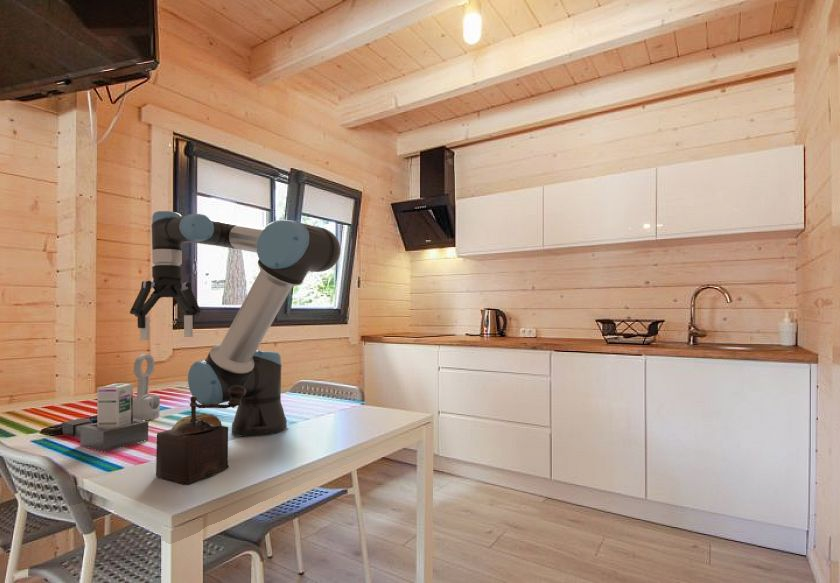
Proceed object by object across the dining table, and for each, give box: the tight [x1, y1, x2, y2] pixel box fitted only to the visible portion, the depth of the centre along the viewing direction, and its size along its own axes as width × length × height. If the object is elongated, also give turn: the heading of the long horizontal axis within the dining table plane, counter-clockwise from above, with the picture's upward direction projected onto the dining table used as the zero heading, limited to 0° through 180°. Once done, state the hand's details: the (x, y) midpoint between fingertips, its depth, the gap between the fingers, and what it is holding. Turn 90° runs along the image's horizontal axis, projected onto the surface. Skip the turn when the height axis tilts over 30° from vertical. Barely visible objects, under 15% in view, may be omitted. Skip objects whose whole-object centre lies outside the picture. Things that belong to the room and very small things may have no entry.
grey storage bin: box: [61, 418, 149, 453], centre depth 122 cm, size 28×11×5 cm, turn 61°
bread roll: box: [171, 413, 223, 429], centre depth 116 cm, size 10×15×8 cm, turn 156°
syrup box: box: [96, 382, 134, 429], centre depth 118 cm, size 6×6×14 cm
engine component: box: [132, 353, 161, 421], centre depth 145 cm, size 11×20×10 cm
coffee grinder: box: [155, 385, 246, 486], centre depth 99 cm, size 16×11×18 cm
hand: (167, 338), depth 129 cm, fingers open, 13 cm apart
